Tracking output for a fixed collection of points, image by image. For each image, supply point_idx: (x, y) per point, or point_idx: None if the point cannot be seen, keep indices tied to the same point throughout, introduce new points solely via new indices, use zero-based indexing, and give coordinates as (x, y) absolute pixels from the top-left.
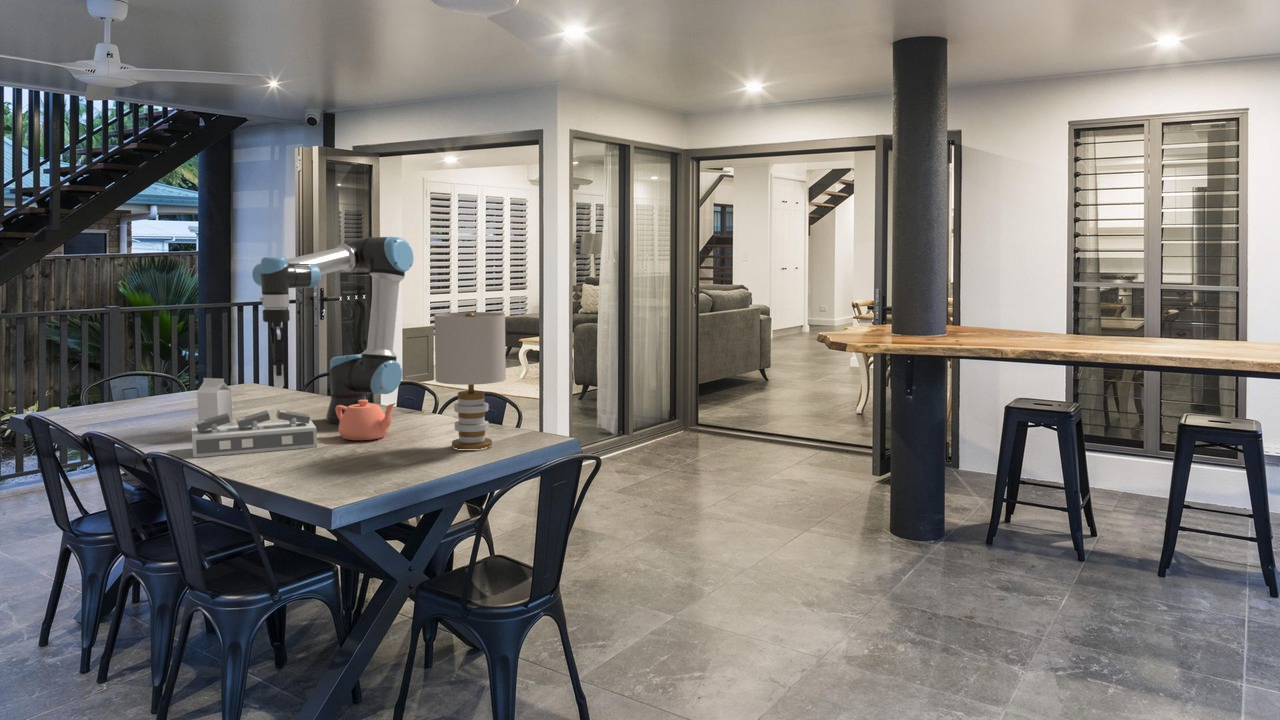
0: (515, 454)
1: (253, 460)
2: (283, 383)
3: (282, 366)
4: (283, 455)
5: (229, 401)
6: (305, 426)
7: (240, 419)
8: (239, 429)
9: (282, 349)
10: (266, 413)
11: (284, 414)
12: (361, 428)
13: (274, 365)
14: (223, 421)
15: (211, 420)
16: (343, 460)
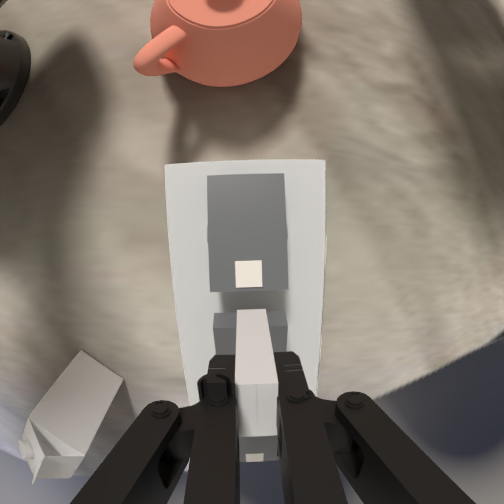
0: None
1: (393, 317)
2: (266, 317)
3: (277, 380)
4: (376, 254)
5: (50, 402)
6: (288, 191)
7: None
8: None
9: (443, 478)
10: (279, 330)
11: (287, 269)
12: (299, 30)
13: (276, 430)
14: None
15: (273, 445)
16: (469, 139)
